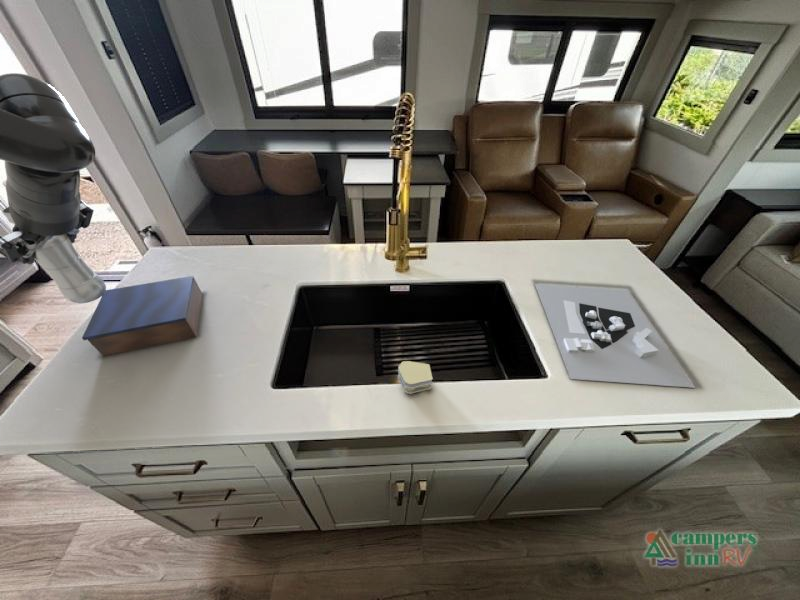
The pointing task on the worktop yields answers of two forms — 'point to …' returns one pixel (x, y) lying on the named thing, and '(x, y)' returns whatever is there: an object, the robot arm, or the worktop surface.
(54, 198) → the robot arm
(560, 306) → the architectural model
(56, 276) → the plastic bottle
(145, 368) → the worktop surface
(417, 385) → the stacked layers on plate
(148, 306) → the box lid
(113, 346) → the lidded box
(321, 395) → the worktop surface
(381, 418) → the worktop surface
